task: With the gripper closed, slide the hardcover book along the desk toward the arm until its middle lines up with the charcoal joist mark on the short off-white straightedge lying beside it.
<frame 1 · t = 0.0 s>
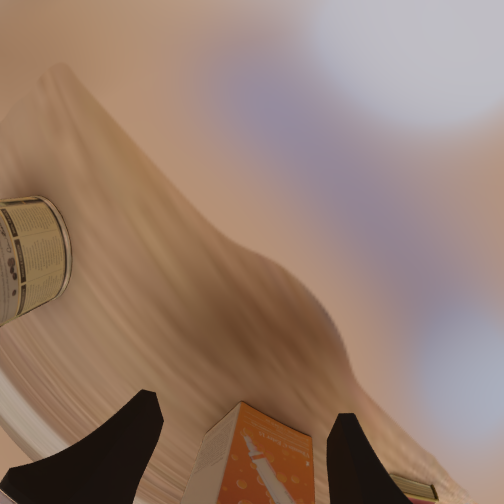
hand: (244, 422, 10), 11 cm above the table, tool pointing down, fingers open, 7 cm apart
small box: (258, 435, 23), on the table
coffee can: (39, 249, 22), on the table
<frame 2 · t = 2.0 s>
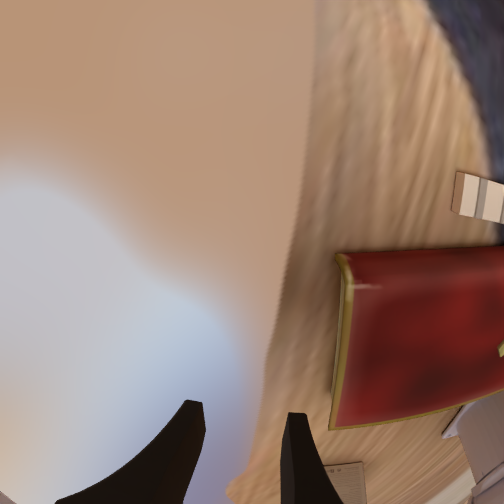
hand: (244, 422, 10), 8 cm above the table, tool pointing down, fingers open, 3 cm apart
hardcover book: (459, 316, 17), on the table
small box: (331, 475, 25), on the table
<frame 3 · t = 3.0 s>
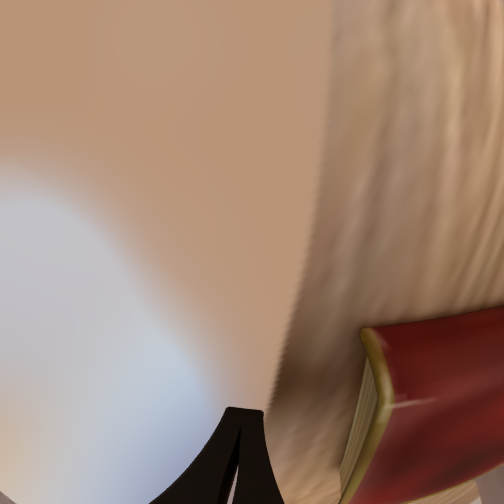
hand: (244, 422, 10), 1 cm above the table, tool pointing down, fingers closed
hardcover book: (502, 375, 10), on the table
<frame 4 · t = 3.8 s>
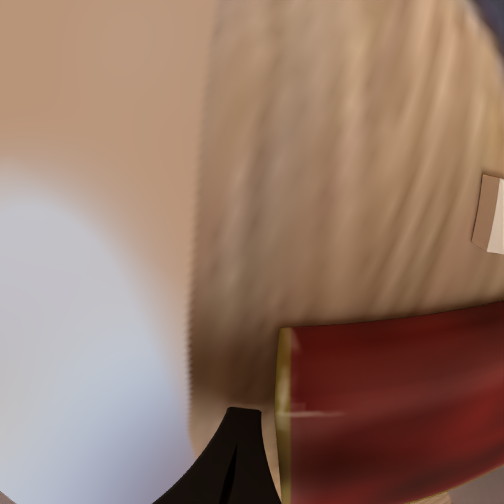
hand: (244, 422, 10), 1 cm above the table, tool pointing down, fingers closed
hardcover book: (472, 385, 11), on the table, touching gripper
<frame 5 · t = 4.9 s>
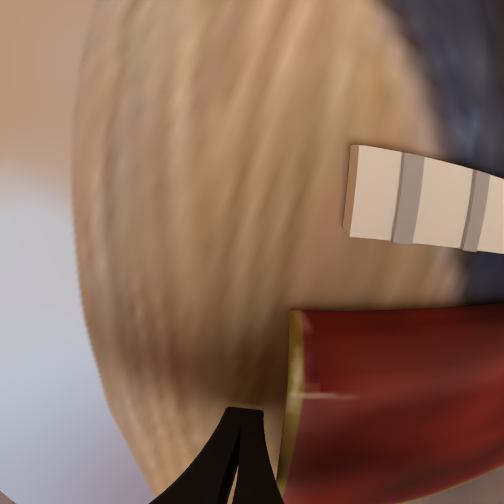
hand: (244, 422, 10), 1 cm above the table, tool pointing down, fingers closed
hardcover book: (467, 387, 11), on the table
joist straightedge: (496, 212, 7), on the table
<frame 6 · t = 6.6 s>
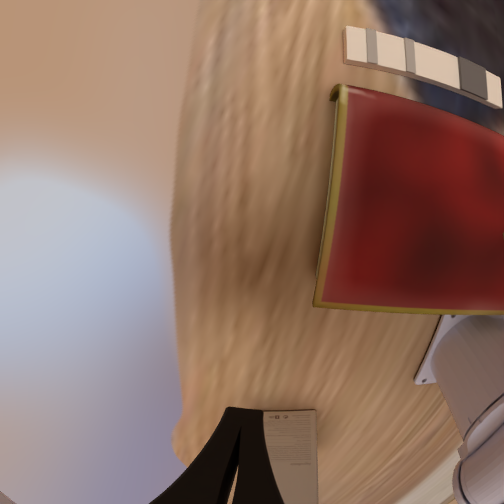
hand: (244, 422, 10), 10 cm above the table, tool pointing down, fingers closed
hardcover book: (457, 211, 16), on the table
small box: (283, 430, 25), on the table
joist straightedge: (430, 67, 13), on the table
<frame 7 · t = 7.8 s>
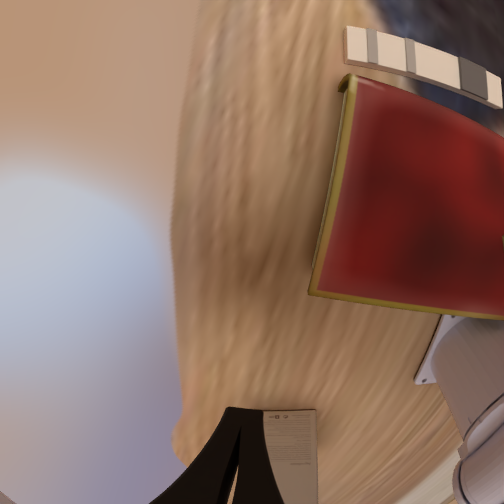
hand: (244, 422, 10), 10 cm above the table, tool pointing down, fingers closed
hardcover book: (457, 212, 16), on the table
small box: (283, 430, 25), on the table
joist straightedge: (430, 68, 13), on the table
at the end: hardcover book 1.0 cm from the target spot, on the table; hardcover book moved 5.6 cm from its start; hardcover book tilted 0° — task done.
